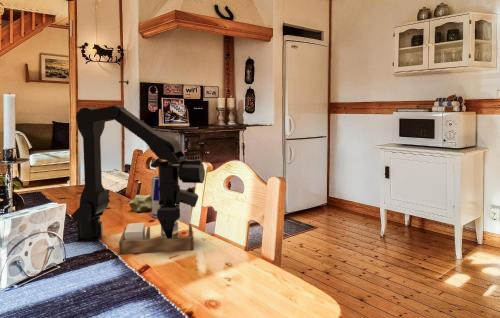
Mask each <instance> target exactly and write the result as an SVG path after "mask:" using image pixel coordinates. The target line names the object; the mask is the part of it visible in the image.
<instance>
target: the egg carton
mask: <svg viewBox="0 0 500 318" xmlns="http://www.w3.org/2000/svg"><path fill="white" fill-rule="evenodd" d="M145 223H146V222H138V223H137V222H133V223H128V224H127V225H126V227H127V228H126V230H125V241H127V240H145V236H146V224H145Z"/></svg>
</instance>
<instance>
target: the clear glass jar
mask: <svg viewBox="0 0 500 318" xmlns="http://www.w3.org/2000/svg"><path fill="white" fill-rule="evenodd" d="M165 238H167V237H166V234H165V232H164V230H163V228H162V226H161V225H160V239H165ZM172 238H179V222H178V221H175V223H174V228H173V233H172Z"/></svg>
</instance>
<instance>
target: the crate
mask: <svg viewBox="0 0 500 318" xmlns="http://www.w3.org/2000/svg"><path fill="white" fill-rule="evenodd" d="M126 228H127V226H126V227H124V230H123V231H122V235H121V237H120V238H119V242H118V246H119V247H118V249H119V250H118V251H119V255H128V254H130V253H132V254H146V253H147V254H149V253H164V252H165V253H167V252H179V251H182V252H183V251H184V252H185V251H194V233H193V226H192V223H189V224H188V237H187V236H185V237H178V238H165V239H161V238H152V239H151V226H147V229H146V231H145V240H127V241H125V230H126Z"/></svg>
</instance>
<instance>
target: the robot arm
mask: <svg viewBox="0 0 500 318" xmlns="http://www.w3.org/2000/svg"><path fill="white" fill-rule="evenodd" d="M75 121H76V125H77V130H78V132H79V133H80V135H81V137H82V140H83V141H82V144H83V145H82V147H83V169H84V170H83V173H84V175H83V176H84V177H83V178H84V187H83V189H82V192H81V194H80V196H79V197H80V198H79V206H78V208H77V209H76V210H75V211H74V212H73V213H72V214H71V217H72V221H73V222H74V223H76V233H77V238H76V239H75V241H76V242H89V241H91V242H92V241H100V239H101V237H102V236H103V234H104V229H103V221H101V216H103V215H104V211H105V210H106V209H107V208H108V207H109V204H110V203H111V201H110V189H105V188H104V186H103V182H102V150H101V149H102V148H101V139H102V138H101V137H102V135H103V132H104V129H105V126H106V122H110V121H116V122H117V123H119V124H120V125H121V126H122V127H124V128H125V129H127V130H128V131H130V132H131V133H132V134H134V135H135V136H136V137H138V139H141V140H142V141H143V142H145V144H146V145H147V146H148V148H149V149H150V151H151V152H152V153H153V154H154V155H155V156H156V157H157V158H155V160H154V162H153V163H151V165H150V167H152V168H158V176H159V187H158V191H159V205H160V207H159V208H158V209H157V218H156V219H157V220H158V222H159V223H160V227H161V226H162V228H163V230H164V232H165V234H166V237H167V238H172V233H173V228H174V223H175V221H176V222H178V220H180V217H181V208H180V205H181V203H182V204H185V205H188V206H190V207H193V208H195V207H196V206H197V202H198V200H199V195H198V194H197V193H196V192H195V191H194V190H195V189H194V187H193V188H192V187H190V186H189V187H188V188H187V189H181V187H180V186H181V185H180V184H179V183H180V182H179V181H181V182H182V183H183V184H186V183H187V184H203V183H204V181H205V177H206V170H205V167H204V164H203V159H188V158H187V156H186V155H185V153H184V152H183V151H182V149H181V144H180V142H179V141H178V140H177V139H175V138H173V137H171V136H169V135H167V134H164V133H161V132H159V131H156V130H155V129H153V128H152V127H151V126H149V125H148V124H147V123H145V121H143V120H141V119H140V118H139V117H137V116H136V115H134V114H133V113H131V112H130V111H129V110H127V109H126V108H125V106H123V105H114V104H113V105H111V106H105V107H101V108H99V107H82V108H80V109H79V110H78V111H77V112H76V113H75Z"/></svg>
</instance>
